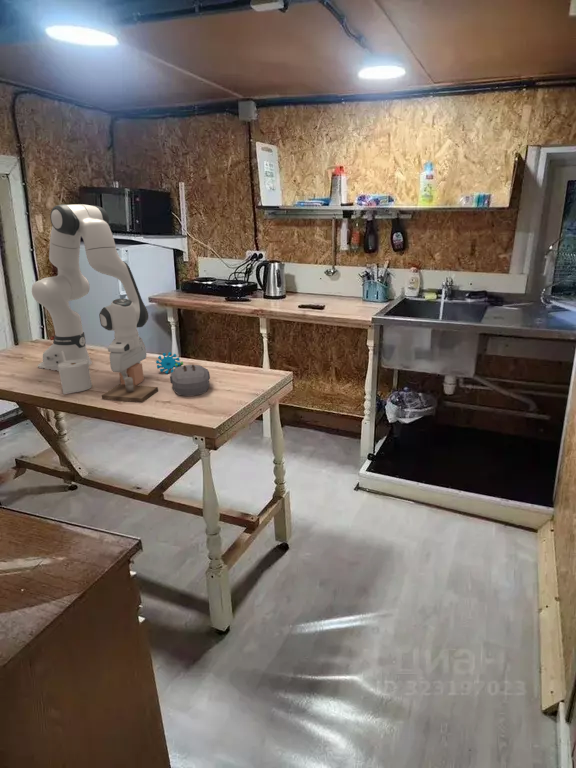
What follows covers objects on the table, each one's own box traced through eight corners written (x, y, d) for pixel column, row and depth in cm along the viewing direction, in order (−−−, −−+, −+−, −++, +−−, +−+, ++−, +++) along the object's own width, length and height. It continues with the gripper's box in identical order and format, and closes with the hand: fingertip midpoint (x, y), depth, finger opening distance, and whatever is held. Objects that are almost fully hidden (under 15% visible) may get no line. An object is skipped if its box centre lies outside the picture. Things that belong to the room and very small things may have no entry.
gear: (153, 371, 203) (157, 350, 207) (155, 377, 208) (159, 356, 213) (181, 373, 204) (184, 352, 208) (182, 380, 209) (185, 359, 214)
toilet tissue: (91, 381, 197) (88, 357, 193) (92, 391, 186) (88, 366, 183) (62, 385, 193) (58, 361, 190) (61, 395, 183) (56, 370, 179)
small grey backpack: (170, 382, 195) (172, 400, 177) (168, 362, 193) (169, 378, 174) (208, 378, 199) (214, 395, 181) (207, 358, 196) (212, 374, 178)
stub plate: (102, 399, 179) (99, 382, 176) (120, 387, 190) (117, 371, 187) (141, 402, 175) (139, 385, 173) (158, 390, 186) (156, 374, 184)
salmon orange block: (120, 384, 192) (118, 367, 190) (129, 379, 198) (127, 362, 196) (135, 385, 191) (133, 368, 188) (143, 380, 197) (141, 363, 194)
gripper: (134, 335, 199) (138, 367, 204) (104, 348, 180) (109, 384, 185) (148, 335, 198) (152, 368, 202) (120, 349, 179) (125, 385, 184)
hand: (131, 376), depth 194 cm, fingers closed on salmon orange block, 6 cm apart
